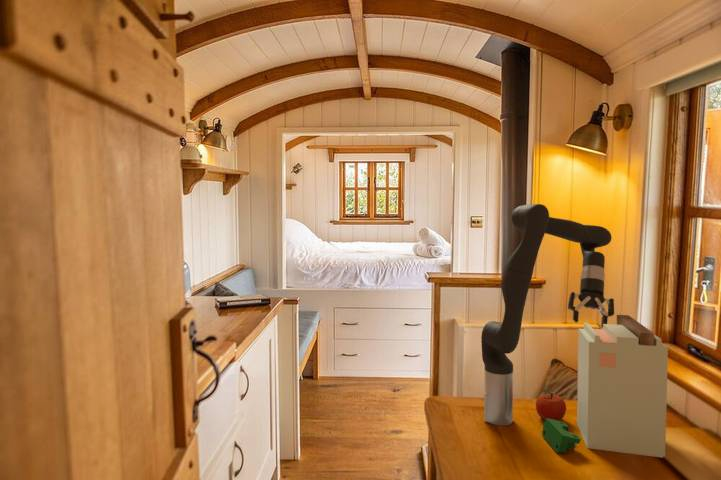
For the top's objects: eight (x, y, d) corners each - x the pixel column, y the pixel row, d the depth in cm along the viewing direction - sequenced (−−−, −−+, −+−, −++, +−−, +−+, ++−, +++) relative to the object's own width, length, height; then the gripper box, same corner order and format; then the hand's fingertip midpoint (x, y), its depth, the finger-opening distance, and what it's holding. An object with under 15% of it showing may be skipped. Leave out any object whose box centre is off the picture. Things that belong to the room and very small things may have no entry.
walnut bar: (639, 344, 125) (640, 332, 124) (616, 324, 147) (616, 314, 147) (653, 345, 124) (654, 333, 123) (628, 325, 146) (628, 315, 146)
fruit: (566, 428, 142) (567, 398, 141) (535, 423, 145) (535, 393, 145) (565, 415, 150) (565, 387, 150) (535, 411, 154) (536, 383, 154)
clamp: (571, 465, 128) (584, 445, 124) (551, 461, 128) (564, 440, 124) (557, 432, 139) (570, 412, 135) (539, 428, 139) (551, 407, 135)
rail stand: (587, 448, 129) (589, 335, 128) (577, 423, 145) (578, 322, 143) (665, 458, 123) (668, 340, 122) (645, 431, 139) (648, 326, 137)
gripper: (573, 274, 155) (570, 318, 149) (618, 280, 151) (616, 326, 146) (568, 280, 161) (565, 322, 156) (611, 286, 158) (608, 330, 152)
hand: (589, 324), depth 151 cm, fingers open, 8 cm apart
